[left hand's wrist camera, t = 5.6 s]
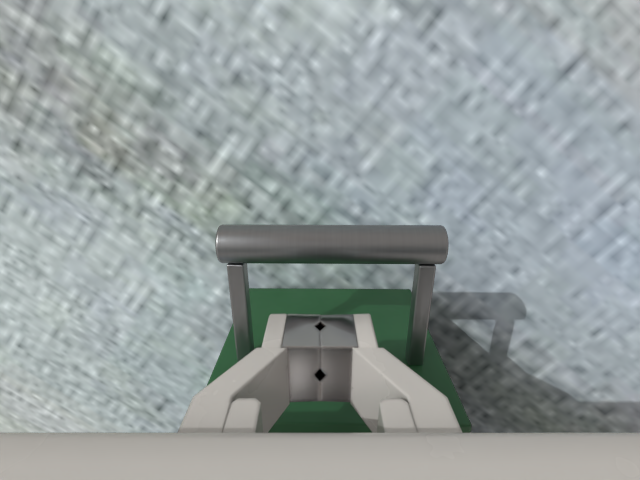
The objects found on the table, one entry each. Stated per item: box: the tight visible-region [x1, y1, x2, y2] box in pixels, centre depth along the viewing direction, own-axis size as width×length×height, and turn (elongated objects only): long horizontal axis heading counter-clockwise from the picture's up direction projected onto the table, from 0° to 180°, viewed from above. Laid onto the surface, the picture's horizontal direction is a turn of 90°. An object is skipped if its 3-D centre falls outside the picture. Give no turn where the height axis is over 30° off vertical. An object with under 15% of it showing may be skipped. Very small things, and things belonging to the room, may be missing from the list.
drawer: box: [207, 225, 472, 433], centre depth 18 cm, size 24×9×9 cm, turn 0°
